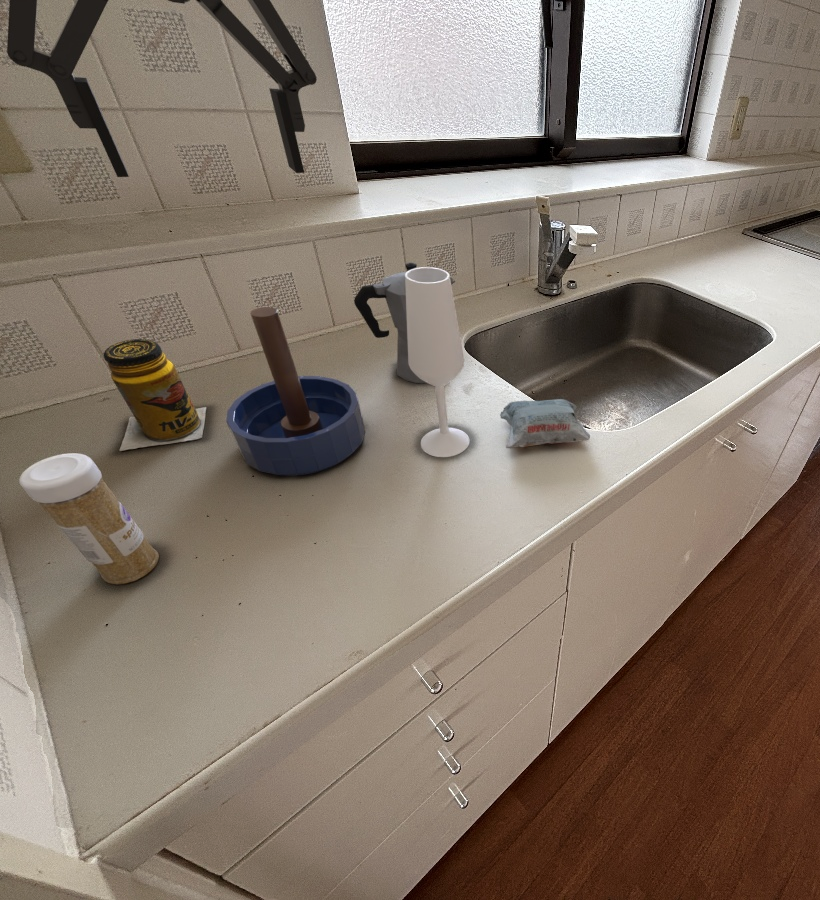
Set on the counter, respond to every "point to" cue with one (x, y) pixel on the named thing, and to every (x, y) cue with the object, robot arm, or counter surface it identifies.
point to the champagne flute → (435, 349)
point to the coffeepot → (396, 302)
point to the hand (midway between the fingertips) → (216, 171)
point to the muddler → (284, 374)
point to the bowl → (273, 453)
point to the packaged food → (542, 423)
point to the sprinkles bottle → (90, 516)
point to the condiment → (152, 396)
